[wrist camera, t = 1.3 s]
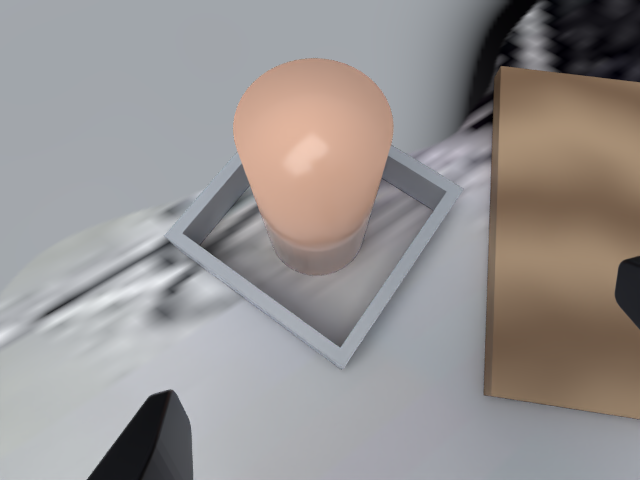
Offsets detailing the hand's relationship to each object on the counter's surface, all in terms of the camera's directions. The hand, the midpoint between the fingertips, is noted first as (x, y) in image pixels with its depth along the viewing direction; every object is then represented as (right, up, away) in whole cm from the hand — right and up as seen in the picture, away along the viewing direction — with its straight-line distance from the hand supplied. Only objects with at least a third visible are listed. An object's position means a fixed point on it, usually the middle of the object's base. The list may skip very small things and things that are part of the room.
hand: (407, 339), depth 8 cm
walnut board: (+14, +2, +15) cm, 20 cm away
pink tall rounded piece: (-2, +2, +15) cm, 15 cm away
